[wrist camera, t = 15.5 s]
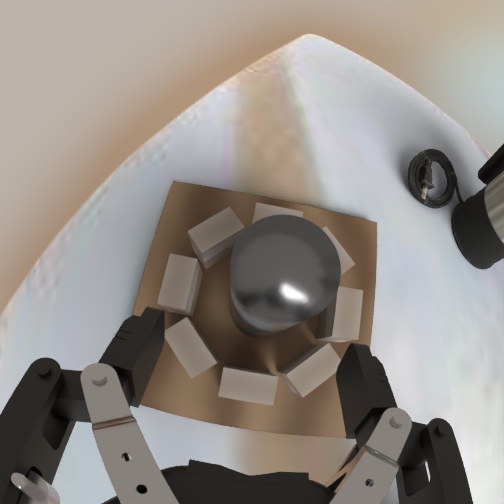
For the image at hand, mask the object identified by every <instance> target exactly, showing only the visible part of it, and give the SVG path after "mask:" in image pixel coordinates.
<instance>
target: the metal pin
mask: <svg viewBox="0 0 504 504" xmlns="http://www.w3.org/2000/svg"><path fill="white" fill-rule="evenodd" d="M340 278H341V264H340V259H339V255H338V252H337V250H336V248H335V246H334V244H333V242H332V241H331V239H330V238H329V236H328V235H327V234H326V233H325V232H324V231H323V230H322V229H321V228H320V227H318V226H317V225H315V224H314V223H312V222H310V221H309V220H306V219H304V218H301V217H298V216H294V215H283V214H281V215H272V216H268V217H265V218H262V219H260V220H258V221H256V222H254V223H253V224H251V225H250V226H249V227H248V228H247V229H245V230H244V232H243V233H242V234H241V235H240V237H239V238H238V240H237V241H236V243H235V246H234V248H233V251H232V255H231V262H230V284H231V316H232V319H233V322H234V324H235V325H236V327H237V328H238V329H239V330H240V331H241V332H243V333H244V334H246V335H248V336H251V337H255V338H264V337H269V336H271V335H273V334H276V333H278V332H280V331H283V330H285V329H287V328H289V327H292V326H294V325H296V324H298V323H301V322H303V321H305V320H307V319H309V318H311V317H313V316H315V315H317V314H318V313H320V312H321V311H323V310H324V309H325V308H326V307H327V306H328V305H329V303H330V302H331V301H332V299H333V298H334V296H335V294H336V292H337V290H338V287H339V284H340Z"/></svg>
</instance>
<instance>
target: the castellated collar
mask: <svg viewBox="0 0 504 504" xmlns="http://www.w3.org/2000/svg"><path fill="white" fill-rule="evenodd" d="M281 214H283V215H294V216H298V217H301V218H304V219H306V220H309V221H310V222H312V223H314V224H315V225H317V226H318V227H320V228H321V229H322V230H323V231H324V232H325V233H326V234H327V235H328V236H329V238H330V239H331V241H332V242H333V244H334V246H335V248H336V250H337V252H338V255H339V259H340V264H341V278H340V284H339V287H338V290H337V292H336V294H335V296H334V298H333V299H332V301H331V302H330V303H329V305H328V306H327V307H326V308H325V309H324V310H323V311H321V312H320V313H318V314H317V315H315V316H313V317H311V318H309V319H307V320H305V321H303V322H301V323H298V324H296V325H294V326H292V327H289V328H287V329H285V330H283V331H280V332H278V333H276V334H273V335H271V336H269V337H264V338H255V337H251V336H248V335H246V334H244V333H243V332H241V331H240V330H239V329H238V328H237V327H236V325H235V324H234V322H233V319H232V316H231V284H230V262H231V255H232V251H233V248H234V246H235V243H236V241H237V240H238V238H239V237H240V235H241V234H242V233H243V232H244V230H245V229H247V228H248V227H249V226H250V225H251V224H253V223H254V222H256V221H258V220H260V219H262V218H265V217H268V216H272V215H281ZM376 261H377V222H373V221H369V220H365V219H361V218H357V217H353V216H349V215H345V214H341V213H336V212H332V211H328V210H323V209H319V208H314V207H310V206H305V205H301V204H296V203H291V202H287V201H282V200H277V199H272V198H267V197H262V196H257V195H251V194H246V193H241V192H235V191H230V190H224V189H218V188H213V187H207V186H201V185H195V184H188V183H182V182H175V181H173V183H172V186H171V189H170V191H169V194H168V197H167V200H166V203H165V206H164V209H163V211H162V214H161V217H160V220H159V223H158V227H157V230H156V233H155V236H154V239H153V242H152V246H151V249H150V252H149V256H148V259H147V262H146V266H145V269H144V273H143V276H142V280H141V284H140V288H139V291H138V295H137V299H136V303H135V307H134V311H133V315H136V316H141V315H142V313H143V311H144V310H145V308H146V307H147V306H149V307H153V308H157V309H161V310H164V311H165V340H164V346H163V349H162V352H161V354H160V356H159V359H158V361H157V363H156V366H155V368H154V371H153V373H152V375H151V378H150V380H149V383H148V385H147V388H146V390H145V392H144V395H143V397H142V400H141V402H140V405H143V406H147V407H150V408H153V409H157V410H160V411H164V412H167V413H171V414H175V415H179V416H183V417H187V418H191V419H195V420H200V421H204V422H209V423H214V424H219V425H224V426H230V427H236V428H242V429H248V430H255V431H263V432H271V433H281V434H292V435H305V436H326V437H346V432H345V426H344V420H343V415H342V409H341V404H340V398H339V393H338V388H337V382H336V371H337V368H338V365H339V363H340V362H341V360H342V358H343V356H344V354H345V352H346V350H347V348H348V346H349V345H350V344H351V343H357V344H366V345H368V346H369V349H370V342H371V333H372V324H373V313H374V300H375V285H376Z"/></svg>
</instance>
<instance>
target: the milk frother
mask: <svg viewBox="0 0 504 504" xmlns="http://www.w3.org/2000/svg"><path fill="white" fill-rule="evenodd" d="M432 161H436V162H437V163H439V164H440V165H441V167H442V168H443V170H444V172H445V175H446V178H447V187H446V190H445V192H444V194H443V195H442V196H441V197H439V198H437V199H434V198H431V197H428V196H427V190H429V189H432V188H434V185H433V184H432V169H431V164H432ZM478 178H479V179H480V180H481V181H482V182H483V183H485V184H486V185H487V186H485V187H484V188H483V189H482V190H480V191H479V192H478V193H477V194H475V195H474V196H471V197H470V198H468V199H467V200H466V201H465V202H463V201H462V199H461V196H460V193H459V188H458V183H457V178H456V174H455V172H454V169H453V166H452V164H451V161H449V159H448V158H447V157H446V155H445V154H444V153H442V152H441V151H439V150H436V149H428V150H425V151H423V152H420V153H419V154H418V155H416V156H415V157H414V158H413V160H412V161H411V163H410V165H409V168H408V183H409V186H410V189H411V191H412V193H413V194H414V196H415V197H416V198H417V199H418V200H419V201H420V202H421V203H422V204H424V205H426V206H428V207H431V208H441V207H443V206H445V205H447V204H448V203H449V202H450V200H451V199H452V197H453V193H454V189H455V188H456V192H457V196H458V199H459V202H460V204H458V205H457V206H456V208H455V209H454V212H453V218H452V224H453V231H454V235H455V239H456V241H457V244H458V246H459V248H460V250H461V252H462V254H463V255H464V257H465V258H466V259H467V260H468V261H469V262H470V263H471V264H472V265H473V266H475V267H476V268H479V269H487V268H490V267H491V266H492V265H493V264H494V263H496V262H497V261H499V260H501V259H503V258H504V144H503V145H502V146H501V147H500V148H499V149H498V150H497V151H496V152H495V154H494V155H493V156H492V157H491V158H490V159H489V160H488V161H487V162H486V163H485V164H484V165H483V167H482V168H481V169H480V170H479V171H478Z"/></svg>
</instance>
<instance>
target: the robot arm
mask: <svg viewBox="0 0 504 504" xmlns="http://www.w3.org/2000/svg"><path fill="white" fill-rule="evenodd" d="M164 340H165V311H164V310H161V309H157V308H153V307H149V306H147V307H146V308H145V310H144V311H143V313H142V315H141V316H136V315H132V316H131V317H129V318H128V319H126V320H125V321H124V322H123V324H122V325H121V327H120V328H119V331H118V332H117V333H116V335H115V337H114V338H113V339H112V341H111V343H110V344H109V346H108V347H107V349H106V351H105V352H104V354H103V356H102V357H101V359H100V361H99V362H98V363H95V364H91V365H89V366H87V367H86V368H85V369H84V370H83V371H74V370H64V369H61V368H60V365H59V364H58V362H57V361H55V360H54V359H51V358H40V359H38V360H36V361H34V362H33V363H32V364H31V365H30V367H29V368H28V370H27V372H26V373H25V375H24V376H23V378H22V379H21V381H20V382H19V384H18V386H17V387H16V389H15V391H14V392H13V394H12V396H11V397H10V399H9V401H8V402H7V404H6V406H5V408H4V409H3V411H2V413H1V415H0V504H60V498H59V495H58V493H57V491H56V490H55V489H54V487H53V486H51V485H52V482H53V480H54V477H55V474H56V471H57V468H58V466H59V463H60V460H61V458H62V455H63V452H64V450H65V447H66V445H67V442H68V440H69V437H70V435H71V433H72V430H73V428H74V425H75V423H76V421H80V422H90V423H92V430H93V434H94V437H95V440H96V443H97V446H98V449H99V452H100V454H101V457H102V460H103V463H104V465H105V468H106V470H107V473H108V475H109V478H110V480H111V483H112V485H113V487H114V489H115V492H116V494H117V496H115V497H113V498H111V499H109V500H108V501H106V502H104V503H102V504H381V502H382V500H383V498H384V497H385V495H386V493H387V491H388V489H389V487H390V485H391V484H392V482H393V480H394V478H395V476H396V482H397V489H398V496H399V504H473V501H472V497H471V492H470V488H469V484H468V480H467V476H466V472H465V469H464V465H463V461H462V458H461V455H460V451H459V448H458V445H457V442H456V439H455V436H454V433H453V430H452V427H451V426H450V424H449V423H448V422H447V421H445V420H444V419H441V418H435V419H433V420H431V421H430V422H429V423H428V424H427V425H425V424H421V423H416V422H413V421H411V418H410V416H409V415H408V414H407V413H406V412H405V411H404V410H402V409H399V408H398V407H397V404H396V401H395V398H394V396H393V393H392V390H391V387H390V384H389V383H388V378H387V376H386V373H385V370H384V367H383V365H382V363H381V362H380V361H379V360H378V359H377V357H375V356H372V354H371V352H370V349H369V346H368V345H366V344H357V343H351V344H350V345H349V346H348V348H347V350H346V352H345V354H344V356H343V358H342V360H341V362H340V363H339V365H338V368H337V371H336V382H337V388H338V393H339V398H340V404H341V409H342V415H343V420H344V426H345V432H346V439H356V442H357V443H356V444H355V445H354V447H353V448H352V450H351V451H350V453H349V454H348V456H347V457H346V459H345V460H344V461H343V463H342V464H341V466H340V467H339V468H338V470H337V471H336V473H335V474H334V475H333V476H332V478H331V479H330V480H329V481H328V482H327V483H326V484H325V485H322V484H320V483H318V482H315V481H312V480H309V474H308V473H298V472H276V473H269V474H262V475H254V476H249V475H245V474H243V473H240V472H237V471H234V470H231V469H229V468H226V467H223V466H221V465H216V464H211V463H205V462H200V461H195V460H189V465H188V466H175V467H170V468H166V469H163V470H160V469H159V467H158V465H157V464H156V462H155V460H154V458H153V456H152V454H151V452H150V450H149V448H148V445H147V443H146V441H145V439H144V437H143V435H142V432H141V430H140V428H139V426H138V424H137V421H136V419H135V418H134V417H133V415H132V413H131V411H130V405H131V406H134V407H137V408H138V407H139V405H140V402H141V400H142V397H143V395H144V392H145V390H146V388H147V385H148V383H149V380H150V378H151V375H152V373H153V371H154V368H155V366H156V363H157V361H158V359H159V356H160V354H161V352H162V349H163V346H164ZM425 462H427V463H428V467H429V472H430V482H429V480H428V475H427V471H426V466H425Z"/></svg>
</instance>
